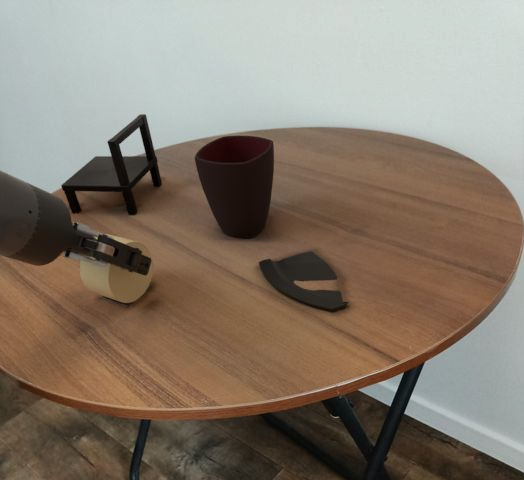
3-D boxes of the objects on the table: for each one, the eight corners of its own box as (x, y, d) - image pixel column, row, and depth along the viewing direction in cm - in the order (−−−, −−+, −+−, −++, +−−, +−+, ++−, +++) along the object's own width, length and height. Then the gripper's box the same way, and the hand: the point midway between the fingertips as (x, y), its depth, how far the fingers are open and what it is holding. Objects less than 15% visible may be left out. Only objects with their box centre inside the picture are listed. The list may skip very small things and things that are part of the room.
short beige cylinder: (93, 310, 66) (71, 253, 61) (133, 279, 71) (115, 223, 65) (121, 320, 64) (100, 261, 59) (160, 287, 69) (144, 230, 63)
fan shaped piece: (297, 331, 59) (296, 319, 58) (257, 272, 69) (255, 262, 68) (363, 309, 61) (363, 298, 60) (314, 255, 71) (313, 245, 70)
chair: (71, 213, 88) (44, 142, 80) (103, 182, 97) (82, 115, 89) (135, 215, 85) (114, 141, 77) (163, 183, 94) (146, 114, 86)
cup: (199, 239, 77) (183, 159, 69) (244, 198, 86) (235, 123, 78) (258, 250, 73) (248, 167, 65) (299, 206, 82) (294, 128, 74)
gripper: (69, 189, 47) (175, 241, 61) (-27, 169, 53) (90, 220, 68) (46, 270, 47) (156, 302, 62) (-47, 240, 53) (73, 276, 68)
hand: (121, 259), depth 65 cm, fingers open, 8 cm apart
